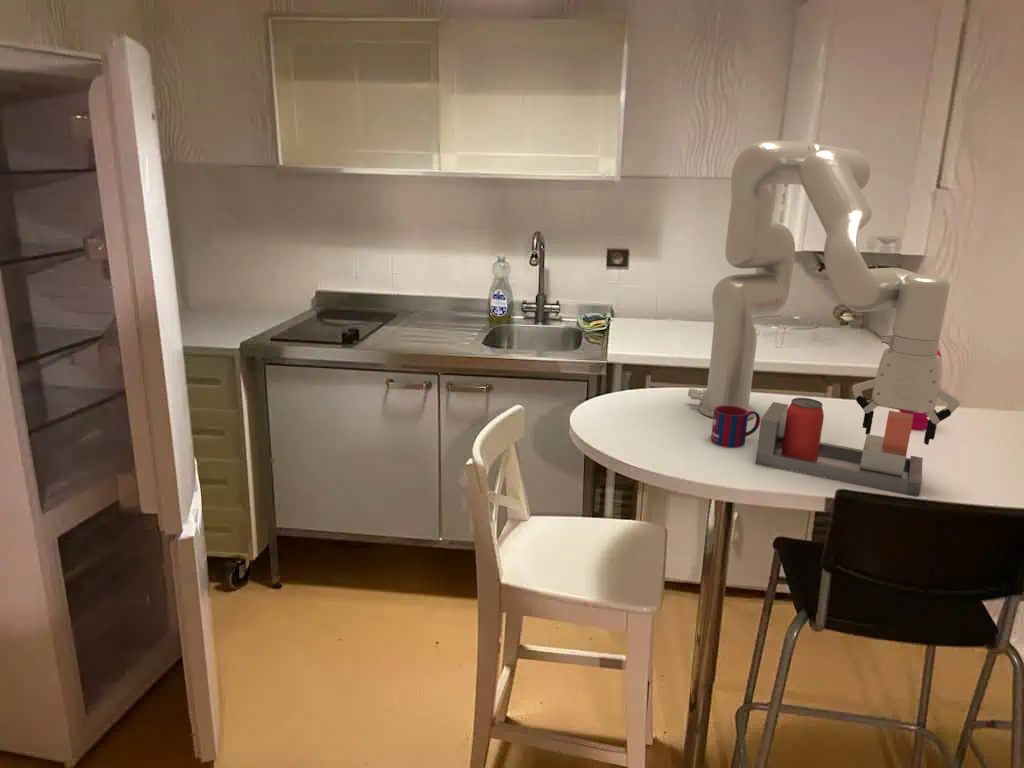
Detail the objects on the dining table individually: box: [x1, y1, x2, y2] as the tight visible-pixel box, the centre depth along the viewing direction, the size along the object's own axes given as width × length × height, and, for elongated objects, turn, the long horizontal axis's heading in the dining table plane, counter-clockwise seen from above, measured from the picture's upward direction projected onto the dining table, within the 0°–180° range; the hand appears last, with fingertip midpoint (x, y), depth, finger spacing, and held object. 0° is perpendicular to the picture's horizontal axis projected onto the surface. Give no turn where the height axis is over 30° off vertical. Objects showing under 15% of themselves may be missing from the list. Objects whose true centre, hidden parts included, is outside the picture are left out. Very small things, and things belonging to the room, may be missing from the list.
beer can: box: [780, 397, 825, 462], centre depth 147 cm, size 7×7×12 cm
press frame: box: [754, 401, 924, 497], centre depth 144 cm, size 28×12×9 cm, turn 62°
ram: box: [859, 410, 913, 478], centre depth 141 cm, size 7×9×12 cm
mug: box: [710, 405, 761, 448], centre depth 157 cm, size 7×10×7 cm
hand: (896, 437), depth 139 cm, fingers open, 9 cm apart
